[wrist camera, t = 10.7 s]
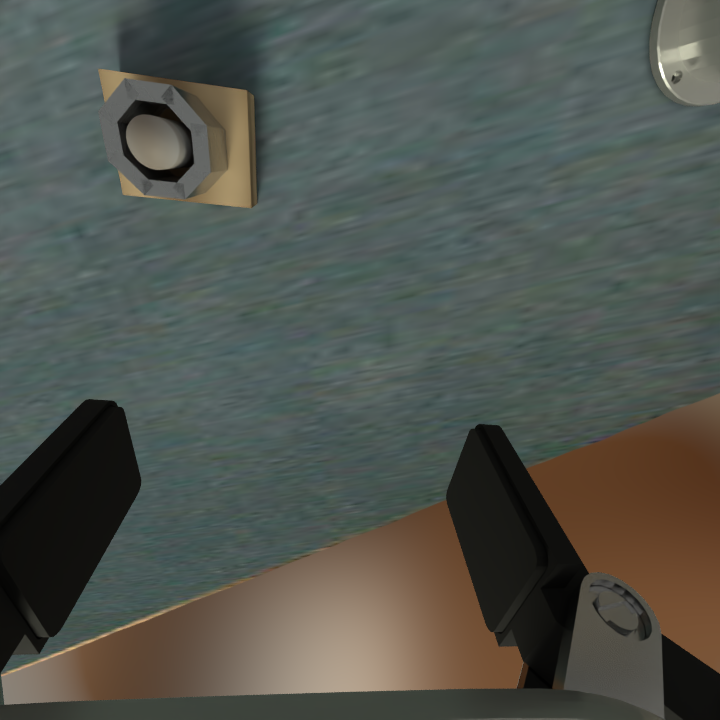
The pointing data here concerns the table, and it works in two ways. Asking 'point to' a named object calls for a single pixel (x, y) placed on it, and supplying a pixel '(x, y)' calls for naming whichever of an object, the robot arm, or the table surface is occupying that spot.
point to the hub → (154, 101)
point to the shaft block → (174, 140)
